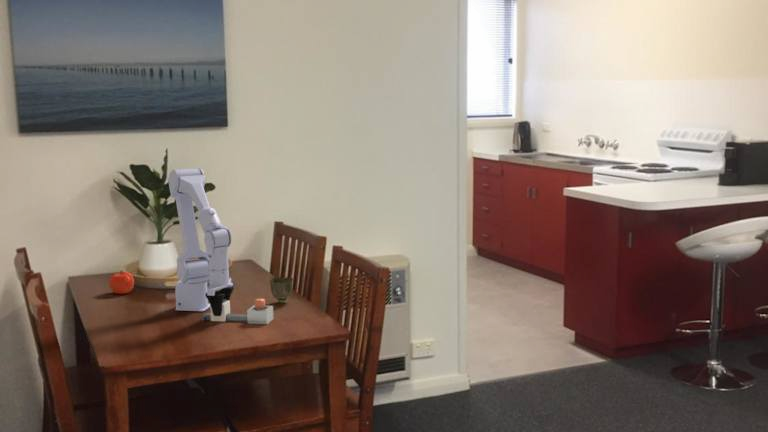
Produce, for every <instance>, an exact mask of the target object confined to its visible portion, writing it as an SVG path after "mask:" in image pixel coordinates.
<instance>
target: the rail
mask: <svg viewBox="0 0 768 432" xmlns="http://www.w3.org/2000/svg"><path fill="white" fill-rule="evenodd" d="M202 321H203V322H205V321H211V312H205V313H202V315H201V317H200V322H202ZM225 322H244V323H248V321H247V314H243V313H230V314H227V315H226V321H225Z"/></svg>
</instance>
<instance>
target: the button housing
mask: <svg viewBox="0 0 768 432" xmlns="http://www.w3.org/2000/svg"><path fill="white" fill-rule="evenodd" d="M246 313H247V314H246V315H247V321H248V322H247V324H251V325H253V324H254V325H269V324H270V322H271V321H273V320H274V305H265V308H255V304H254V305H252V306H251V307H249V308H248V309H247V310H246Z"/></svg>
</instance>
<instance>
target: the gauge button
mask: <svg viewBox="0 0 768 432" xmlns="http://www.w3.org/2000/svg"><path fill="white" fill-rule="evenodd" d="M254 305H255V308H265V306H266V298H255V299H254Z"/></svg>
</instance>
